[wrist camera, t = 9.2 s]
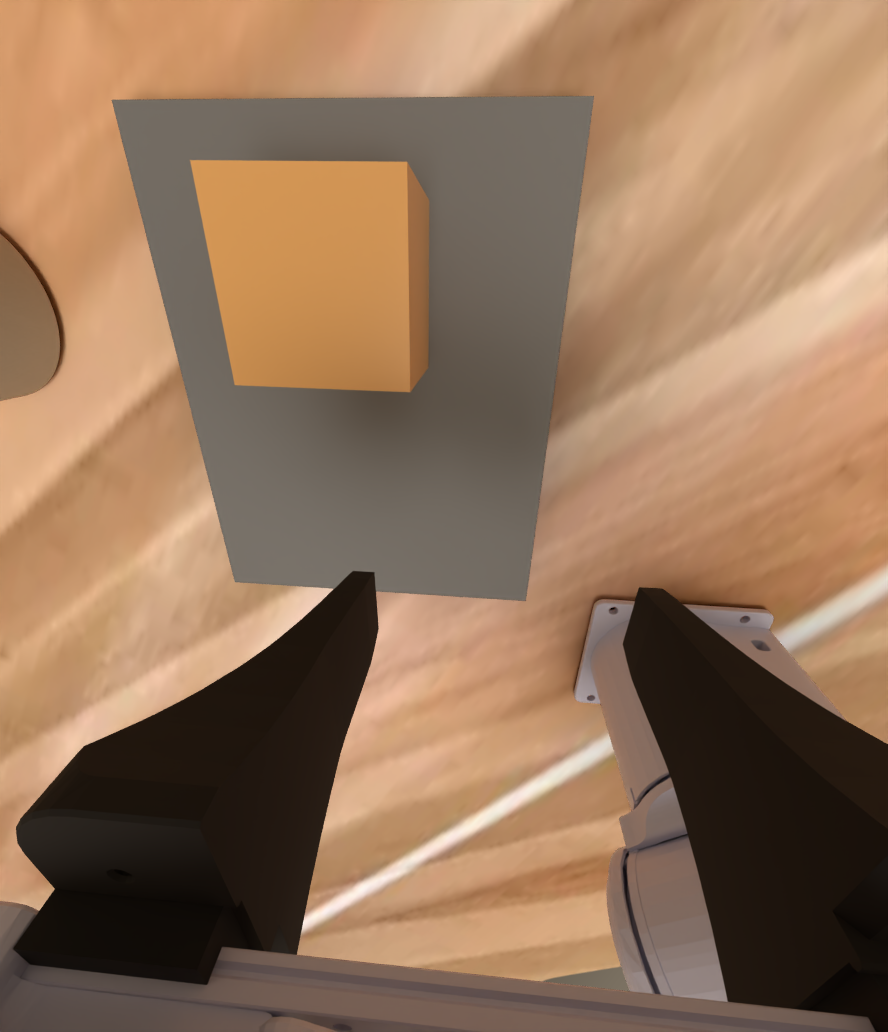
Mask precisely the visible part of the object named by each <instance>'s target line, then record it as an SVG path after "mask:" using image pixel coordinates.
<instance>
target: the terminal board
mask: <svg viewBox="0 0 888 1032" xmlns="http://www.w3.org/2000/svg"><path fill="white" fill-rule="evenodd" d="M593 100H594V96H541V97H413V98H286V99H158V100H112V103H113V107H114V111H115V115H116V119H117V123H118V127H119V130H120V134H121V138H122V142H123V146H124V150H125V154H126V158H127V162H128V166H129V170H130V173H131V177H132V181H133V185H134V189H135V193H136V197H137V201H138V205H139V209H140V213H141V216H142V220H143V224H144V228H145V232H146V236H147V240H148V244H149V248H150V252H151V256H152V260H153V263H154V267H155V271H156V275H157V279H158V283H159V287H160V291H161V295H162V299H163V303H164V306H165V310H166V314H167V318H168V322H169V326H170V330H171V334H172V338H173V342H174V346H175V349H176V353H177V357H178V361H179V365H180V369H181V373H182V377H183V381H184V385H185V389H186V392H187V396H188V400H189V404H190V408H191V412H192V416H193V420H194V424H195V428H196V432H197V436H198V439H199V443H200V447H201V451H202V455H203V459H204V463H205V467H206V471H207V475H208V479H209V482H210V486H211V490H212V494H213V498H214V502H215V506H216V510H217V514H218V518H219V522H220V525H221V529H222V533H223V537H224V541H225V545H226V549H227V553H228V557H229V561H230V565H231V568H232V572H233V576H234V580H235V582H241V583H257V584H272V585H287V586H303V587H318V588H333V589H335V588H336V587H337V586H338V585H339V584H340V583H341V582H342V581H343V580H344V579H345V578H346V577H347V576H348V575H349V574H350V573H351V572H352V571H365V572H375V586H376V591H380V592H395V593H410V594H426V595H441V596H456V597H472V598H487V599H502V600H518V601H526V596H527V589H528V581H529V574H530V566H531V559H532V552H533V544H534V537H535V529H536V522H537V515H538V507H539V500H540V492H541V485H542V478H543V470H544V463H545V455H546V448H547V441H548V433H549V426H550V418H551V411H552V404H553V396H554V389H555V381H556V374H557V367H558V359H559V352H560V344H561V337H562V330H563V322H564V315H565V307H566V300H567V293H568V285H569V278H570V270H571V263H572V256H573V248H574V241H575V233H576V226H577V219H578V211H579V204H580V196H581V189H582V182H583V174H584V167H585V159H586V152H587V145H588V137H589V130H590V122H591V115H592V108H593ZM190 160H242V161H378V162H408V164H409V166H410V168H411V169H412V171H413V173H414V175H415V176H416V178H417V180H418V182H419V183H420V185H421V187H422V189H423V190H424V192H425V194H426V196H427V197H428V199H429V352H428V369H427V370H426V372H425V373H424V374H423V376H422V377H421V378H420V380H419V381H418V382H417V384H416V385H415V386H414V388H413V389H412V391H411V392H391V391H366V390H341V389H316V388H291V387H267V386H242V385H235V384H234V379H233V374H232V369H231V364H230V359H229V354H228V349H227V344H226V339H225V333H224V328H223V323H222V318H221V313H220V308H219V303H218V298H217V293H216V288H215V283H214V278H213V273H212V268H211V263H210V258H209V253H208V248H207V243H206V238H205V233H204V228H203V223H202V218H201V213H200V208H199V203H198V198H197V193H196V187H195V182H194V177H193V172H192V167H191V162H190Z"/></svg>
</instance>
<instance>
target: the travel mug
mask: <svg viewBox="0 0 888 1032" xmlns="http://www.w3.org/2000/svg"><path fill="white" fill-rule="evenodd" d="M59 354H60V337H59V330H58V325H57V321H56V317H55V314H54V311H53V308H52V306H51V303H50V301H49V298H48V296H47V294H46V292H45V290H44V288H43V286H42V285H41V283H40V281H39V279H38V278H37V276H36V275H35V273H34V272H33V270H32V269H31V267H30V266H29V265H28V263H27V262H26V261H25V259H24V258H23V257H22V256H21V254H20V253H19V252H18V251H17V250H16V249H15V248H14V247H13V246H12V244H11V243H10V242H9V241H8V240H7V239H5V238H4V237H3V236H2V235H1V234H0V401H3V400H7V399H12V398H16V397H21V396H25V395H29V394H32V393H34V392H36V391H38V390H40V389H41V388H42V387H44V386H45V385H46V384H47V383H48V382H49V380H50V379H51V378H52V376H53V374H54V372H55V370H56V367H57V364H58V360H59Z"/></svg>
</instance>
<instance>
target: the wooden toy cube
mask: <svg viewBox="0 0 888 1032" xmlns="http://www.w3.org/2000/svg"><path fill="white" fill-rule="evenodd" d="M190 162H191V167H192V172H193V177H194V182H195V187H196V193H197V198H198V203H199V208H200V213H201V218H202V223H203V228H204V233H205V238H206V243H207V248H208V253H209V258H210V263H211V268H212V273H213V278H214V283H215V288H216V293H217V298H218V303H219V308H220V313H221V318H222V323H223V328H224V333H225V339H226V344H227V349H228V354H229V359H230V364H231V369H232V374H233V379H234V384H235V385H242V386H267V387H291V388H316V389H341V390H366V391H391V392H411V391H412V389H413V388H414V386H415V385H416V384H417V382H418V381H419V380H420V378H421V377H422V376H423V374H424V373H425V372H426V370H427V369H428V352H429V199H428V197H427V196H426V194H425V192H424V190H423V189H422V187H421V185H420V183H419V182H418V180H417V178H416V176H415V175H414V173H413V171H412V169H411V168H410V166H409V164H408V162H378V161H242V160H190Z"/></svg>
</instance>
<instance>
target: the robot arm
mask: <svg viewBox="0 0 888 1032" xmlns="http://www.w3.org/2000/svg"><path fill="white" fill-rule="evenodd" d="M612 607H616V608H615V609H614V610H609V609H610V608H612ZM743 616H745V617H744V618H741V617H743ZM773 620H774V617H773V615H772V614H771V613H770V612H769V611H768V610H764V609H750V608H734V607H718V606H703V605H687V604H682V603H680V602H679V601H678V600H677V599H675V598H674V597H673V596H672V595H670V594H669V593H668V592H666V591H665V590H663V589H659V588H642V587H639V589H638V593H637V596H636V600H635V601H625V600H609V599H601V600H598V601H597V602H596V603H595V604H594V606H593V611H592V615H591V619H590V624H589V628H588V632H587V637H586V641H585V646H584V650H583V654H582V659H581V663H580V667H579V672H578V676H577V680H576V685H575V689H574V697H575V699H576V700H577V701H578V702H584V703H597V704H601V707H602V711H603V714H604V718H605V721H606V725H607V728H608V732H609V735H610V739H611V742H612V746H613V749H614V753H615V756H616V760H617V763H618V766H619V770H620V773H621V777H622V780H623V784H624V787H625V791H626V794H627V798H628V801H629V805H630V808H631V812H630V813H628V814H626V815H624V816H621V817H620V818H619V821H620V825H621V829H622V833H623V836H624V840H625V844H626V846H625V847H622V848H618V849H617V850H616V851H615V852H614V853H613V855H612V857H611V860H610V865H609V875H608V880H607V908H608V915H609V921H610V927H611V931H612V936H613V940H614V944H615V948H616V951H617V955H618V958H619V961H620V965H621V968H622V970H623V973H624V976H625V979H626V982H627V984H628V987H629V989H630V991H623V990H614V989H605V988H596V987H586V986H577V985H568V984H559V983H549V982H541V981H531V980H522V979H513V978H504V977H495V976H486V975H476V974H467V973H458V972H449V971H440V970H431V969H422V968H412V967H403V966H394V965H385V964H376V963H367V962H357V961H348V960H339V959H330V958H321V957H312V956H303V955H297V951H298V945H299V940H300V935H301V930H302V925H303V920H304V915H305V910H306V905H307V900H308V895H309V890H310V885H311V880H312V875H313V871H314V866H315V861H316V857H317V852H318V847H319V843H320V838H321V833H322V829H323V825H324V820H325V816H326V812H327V807H328V803H329V799H330V794H331V790H332V786H333V782H334V778H335V774H336V770H337V765H338V761H339V757H340V753H341V750H342V747H343V743H344V740H345V737H346V734H347V731H348V728H349V725H350V722H351V719H352V716H353V714H354V711H355V708H356V705H357V702H358V699H359V696H360V693H361V691H362V688H363V685H364V682H365V679H366V676H367V673H368V670H369V667H370V664H371V661H372V657H373V652H374V648H375V643H376V638H377V633H378V614H377V600H376V586H375V572H365V571H352V572H351V573H350V574H349V575H348V576H347V577H346V578H345V579H344V580H343V581H342V582H341V583H340V584H339V585H338V586H337V587H336V588H335V589H334V590H332V591H331V592H330V593H329V594H328V595H327V596H326V597H325V598H324V599H323V600H322V601H321V602H320V603H319V604H318V605H317V606H316V607H315V608H313V609H312V610H311V611H310V612H309V613H308V614H307V615H306V616H305V617H304V618H303V619H301V620H300V621H299V622H298V623H297V624H296V625H294V626H293V627H292V628H291V629H290V630H288V631H287V632H286V633H285V634H284V635H282V636H281V637H280V638H279V639H277V640H276V641H275V642H274V643H272V644H271V645H270V646H268V647H267V648H266V649H264V650H263V651H262V652H260V653H259V654H257V655H256V656H254V657H253V658H252V659H250V660H249V661H247V662H246V663H244V664H243V665H241V666H240V667H238V668H237V669H235V670H233V671H232V672H230V673H228V674H227V675H225V676H223V677H222V678H220V679H219V680H217V681H215V682H214V683H212V684H210V685H209V686H207V687H205V688H204V689H202V690H200V691H198V692H197V693H195V694H193V695H191V696H189V697H187V698H186V699H184V700H182V701H180V702H178V703H176V704H174V705H172V706H170V707H168V708H166V709H164V710H163V711H161V712H159V713H157V714H155V715H152V716H150V717H148V718H146V719H144V720H142V721H140V722H138V723H135V724H133V725H131V726H129V727H127V728H124V729H122V730H120V731H118V732H115V733H113V734H111V735H109V736H106V737H104V738H102V739H100V740H97V741H95V742H93V743H90V744H88V745H86V746H84V747H83V748H82V749H81V750H80V751H79V752H78V753H77V754H76V756H75V757H74V758H73V759H72V760H71V761H70V762H69V764H68V765H67V766H66V767H65V768H64V769H63V770H62V772H61V773H60V774H59V775H58V776H57V777H56V779H55V780H54V781H53V782H52V783H51V784H50V785H49V787H48V788H47V789H46V790H45V791H44V792H43V794H42V795H41V796H40V797H39V798H38V799H37V800H36V802H35V803H34V804H33V805H32V806H31V807H30V809H29V810H28V811H27V812H26V813H25V814H24V815H23V817H22V818H21V819H20V821H19V823H18V825H17V826H16V834H17V841H18V844H19V846H20V848H21V849H22V851H23V852H24V854H25V855H26V856H27V857H28V858H29V859H30V861H31V862H32V863H33V864H34V865H35V866H36V868H37V869H38V870H39V871H40V872H41V873H42V874H43V876H44V877H45V878H46V879H47V880H48V881H49V882H50V884H51V885H52V886H53V887H54V888H55V890H54V891H53V893H52V894H51V895H50V897H49V898H48V900H47V901H46V902H45V904H44V905H43V907H42V908H41V910H40V911H38V910H36V909H34V908H32V907H29V906H27V905H23V904H18V903H12V902H3V901H0V1032H888V744H886V743H884V742H883V741H881V740H879V739H877V738H875V737H874V736H872V735H870V734H868V733H867V732H865V731H863V730H861V729H860V728H858V727H856V726H854V725H852V724H851V723H849V722H847V721H846V720H845V718H844V717H843V716H842V715H841V713H840V712H839V711H838V710H837V709H836V707H835V706H834V705H833V704H832V703H831V701H830V700H829V699H828V698H827V697H826V696H825V694H824V693H823V692H822V691H821V690H820V689H819V687H818V686H817V685H816V684H815V683H814V682H813V680H812V679H811V678H810V677H809V676H808V675H807V673H806V672H805V671H804V670H803V669H802V668H801V666H800V665H799V664H798V663H797V662H796V661H795V659H794V658H793V657H792V656H791V655H790V653H789V652H788V651H787V650H786V649H785V648H784V646H783V645H782V644H781V643H780V642H779V641H778V639H777V638H776V637H775V636H774V635H773V634H772V632H771V631H770V630H769V629H770V627H771V625H772V623H773ZM589 695H591V696H589Z"/></svg>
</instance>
